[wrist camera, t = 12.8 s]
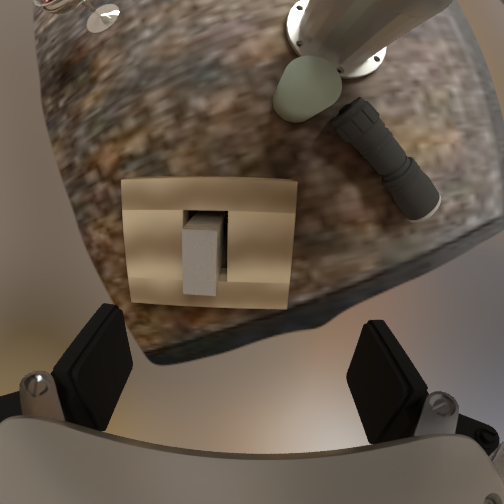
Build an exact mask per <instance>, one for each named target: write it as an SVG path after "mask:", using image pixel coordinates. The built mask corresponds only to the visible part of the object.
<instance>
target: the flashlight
mask: <svg viewBox="0 0 504 504" xmlns="http://www.w3.org/2000/svg"><path fill="white" fill-rule="evenodd" d="M331 124H332V125H333V126H334V130H335V131H336V132H337V133H338V135H339V136H340V137H341V138H342V139H343V140H344V141H345V142H346V143H350V144H351V145H352V146H353V147H354V148H355V149H358V150H359V153H360V154H362V157H363V158H366V159H367V161H368V162H369V163H370V164H371V165H372V167H373V168H374V169H375V170H376V171H377V173H378V174H379V175H381V176H382V183H383V185H384V186H385V188H386V189H387V190H388V191H389V192H390V193H391V195H392V197H393V199H394V202H395V203H396V205H397V206H398V207H399V209H400V210H401V211H402V213H403V214H404V215H405V217H406V218H407V220H408V221H409V222H412V223H418V222H421V221H424V220H425V219H427V218H429V217H430V216H431V215H433V214H434V213H435V211H436V210H437V209H438V207H439V206H440V203H441V196H440V194H439V193H438V191H437V189H436V188H435V186H434V185H433V183H432V182H431V180H430V179H429V177H428V176H427V175H426V174H425V173H424V172H423V171H421V170H420V167H419V166H418V165H417V163H416V162H415V160H414V159H413V158H411V157H407V156H406V153H405V152H404V150H403V149H402V148H401V146H400V145H399V144H398V142H397V141H396V140H395V139H394V137H393V136H392V133H391V132H390V131H389V129H388V128H385V124H384V123H383V122H382V120H381V119H380V118H379V113H378V112H377V111H376V110H375V109H374V107H373V106H372V105H371V104H370V103H369V102H368V101H364V100H363V99H362V98H361V97H358V98H357V99H355V100H354V101H352V102H351V103H350V104H347V105H345V106H344V107H343V108H342V109H341V110H340V111H339V114H338V115H337V116H336V117H335V118H334V119H333V120H332V121H331Z"/></svg>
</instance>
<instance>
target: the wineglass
mask: <svg viewBox="0 0 504 504" xmlns="http://www.w3.org/2000/svg"><path fill="white" fill-rule="evenodd" d="M34 3H35V4H36V5H37V6H42V8H43V9H44V10H45V11H46V12H49V13H52V14H62V13H66V12H68V11H71V10H73V9H74V8H76V7H78V6H79V5H81V4H82V5H84V6H85V7H86V8H88V9H89V10H91V11H92V12H93V13H92V15H91V16H90V17H89V19H88V22H87V29H88V30H89V31H90V32H92V33H98V32H101V31H104V30H105V29H107V28H108V27H110V26H111V25H112V24H113V23H114V22H115V21H116V19H117V17H118V14H119V8H118V7H117V6H116V5H114V4H107V5H103V6H101V7H100V8H98V9H97V10H96V9H95V8H94V7H93V6H92V5H91V4H90V3H89V2H88V1H87V0H34Z"/></svg>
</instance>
